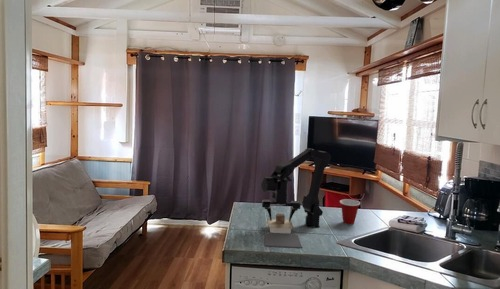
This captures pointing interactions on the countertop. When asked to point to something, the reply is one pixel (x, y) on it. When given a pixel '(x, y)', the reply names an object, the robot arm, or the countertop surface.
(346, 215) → the plastic cup
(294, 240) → the mat
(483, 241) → the countertop surface
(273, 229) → the dish
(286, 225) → the lid
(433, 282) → the countertop surface
